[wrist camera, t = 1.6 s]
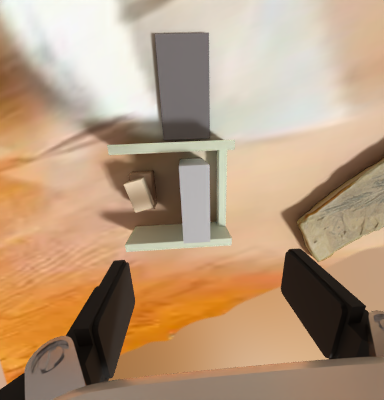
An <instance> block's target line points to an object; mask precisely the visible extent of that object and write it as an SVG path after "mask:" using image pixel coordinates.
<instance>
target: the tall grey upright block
mask: <svg viewBox="0 0 384 400" xmlns="http://www.w3.org/2000/svg"><path fill="white" fill-rule="evenodd" d="M179 177H180V193H181V209H182V225H183V241H184V243H200V242H210V165H209V164H208V163H207V162H206V161H204V160H203V159H202V158H194V159H180V162H179Z"/></svg>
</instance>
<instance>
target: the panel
mask: <svg viewBox="0 0 384 400" xmlns="http://www.w3.org/2000/svg"><path fill="white" fill-rule="evenodd" d="M155 42H156V54H157V65H158V77H159V89H160V101H161V112H162V124H163V136H164V140H178V139H202V138H210V119H209V33H172V34H155Z"/></svg>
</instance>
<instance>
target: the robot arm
mask: <svg viewBox="0 0 384 400" xmlns="http://www.w3.org/2000/svg"><path fill="white" fill-rule="evenodd" d="M281 291H282V294H283V295H284V297H285V299H286V300H287V302H288V303H289V304H290V306H291V307H292V309H293V310H294V312H295V313H296V315H297V316H298V318H299V319H300V321H301V322H302V324H303V325H304V327H305V328H306V329H307V331H308V333H309V334H310V336H311V337H312V338H313V340H314V341H315V343H316V345H317V346H318V348H319V349H320V351H321V352H322V353H323V355H324V356H325V357H326V358H329V359H327V360H315V361H303V362H293V363H281V364H269V365H258V366H247V367H236V368H225V369H215V370H204V371H193V372H183V373H173V374H163V375H153V376H145V377H136V378H128V379H119V380H112V381H108V380H109V378H112V377H113V375H114V373H115V369H116V366H117V362H118V359H119V356H120V352H121V349H122V346H123V342H124V339H125V336H126V332H127V329H128V325H129V322H130V319H131V315H132V312H133V309H134V305H135V297H134V291H133V285H132V279H131V273H130V268H129V263H128V262H127V263H126V261H125V260H118V261H114V262H113V263H112V265H111V267H110V268H109V270H108V272H107V273H106V275H105V277H104V278H103V280H102V282H101V284H100V285H99V286H97V287H96V288H95V289H94V290H93V292H92V294H91V295H90V297H89V299H88V300H87V302H86V303H85V305H84V307H83V308H82V310H81V312H80V313H79V315H78V317H77V318H76V320H75V321H74V323H73V325H72V326H71V328H70V330H69V331H68V333H67V335H66V336H60V337H57V338H54V339H52V340H50V341H48V342H47V343H45V344H44V345H42V346H41V347H40V348H39V349H38V350H37V351H36V352H35V353H34V354H33V355H32V357H31V358H30V359H29V361H28V363H27V365H26V368H25V373H23V374H22V375H20V376H19V377H18V378H16V379H15V380H13V381H12V382H10V383H9V384H8V385H6V386H5V387H3V388H2V389H0V400H384V312H383V311H372V312H370V313H369V312H368V311H367V310H365V307H366V306H365V305H364V304H363V303H362V302H361V301H360V300H358V299H357V298H356V297H355V296H354V295H353V294H352V293H350V292H349V291H348V290H347V289H346V288H345V287H344V286H342V285H341V284H340V283H339V282H338V281H337V280H335V279H334V278H333V277H332V276H331V275H330V274H329V273H327V272H326V271H325V270H324V269H323V268H322V267H321V266H320V265H318V264H317V263H316V262H315V261H314V260H313V259H312V258H310V257H309V256H308V255H307V254H306V253H305V252H304V251H302V250H301V249H289V250H288V252H286V255H285V262H284V269H283V277H282V284H281Z"/></svg>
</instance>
